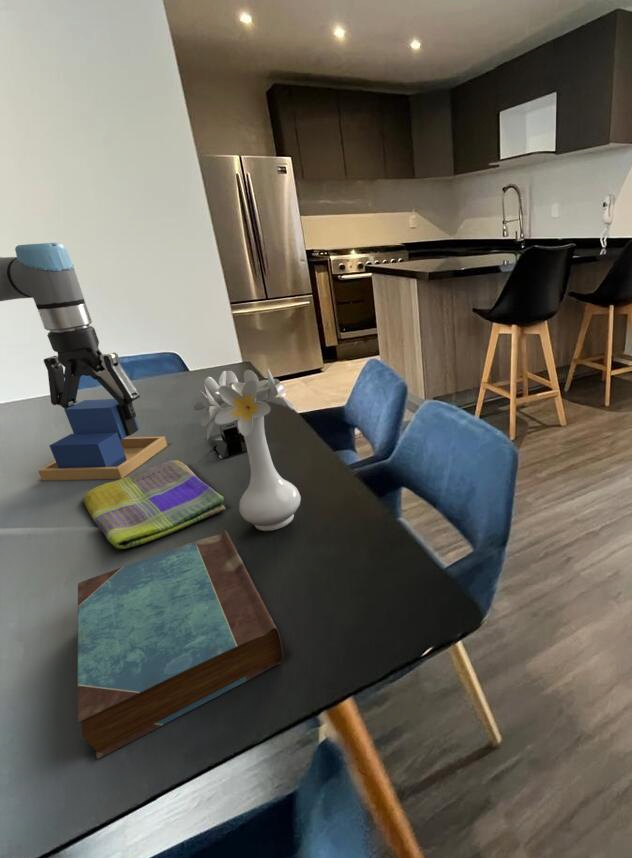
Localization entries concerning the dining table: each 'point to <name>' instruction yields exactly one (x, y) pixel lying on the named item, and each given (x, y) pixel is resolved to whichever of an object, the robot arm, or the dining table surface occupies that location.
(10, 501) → the dining table surface
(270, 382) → the flower vase
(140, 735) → the book
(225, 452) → the black box
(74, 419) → the pad
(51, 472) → the wooden tray
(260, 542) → the dining table surface
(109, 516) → the dish towel
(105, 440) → the pad
